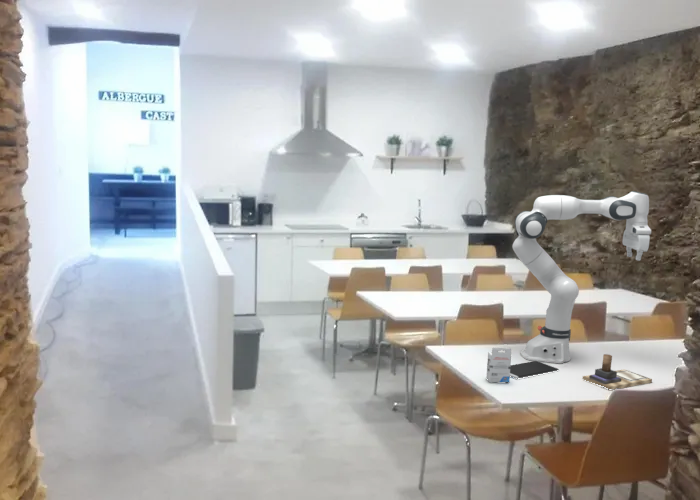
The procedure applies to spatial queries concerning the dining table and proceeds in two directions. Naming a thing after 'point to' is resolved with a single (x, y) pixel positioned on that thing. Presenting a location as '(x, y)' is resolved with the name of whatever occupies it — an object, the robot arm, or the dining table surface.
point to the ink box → (499, 365)
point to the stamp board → (619, 380)
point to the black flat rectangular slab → (530, 369)
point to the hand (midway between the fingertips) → (633, 258)
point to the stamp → (606, 368)
